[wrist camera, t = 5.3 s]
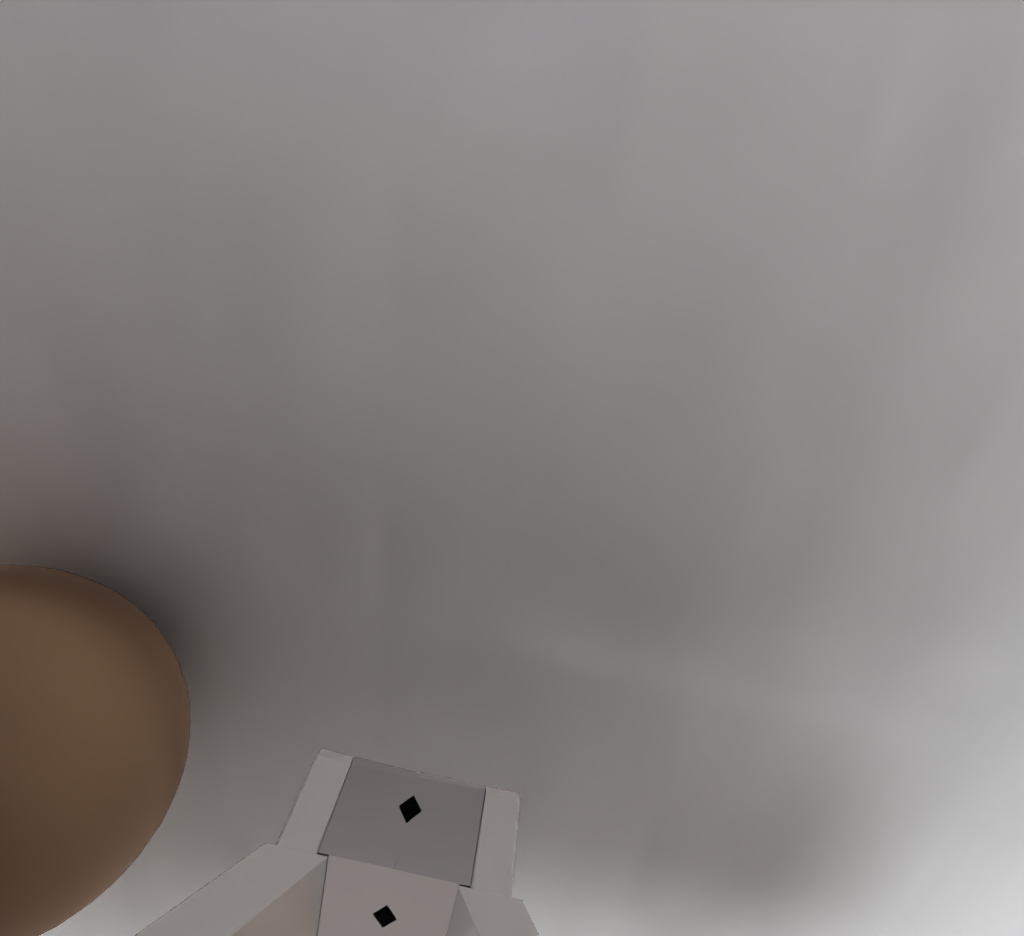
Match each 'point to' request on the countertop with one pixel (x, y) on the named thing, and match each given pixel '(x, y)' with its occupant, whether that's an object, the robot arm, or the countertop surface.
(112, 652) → the ball
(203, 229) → the countertop surface
